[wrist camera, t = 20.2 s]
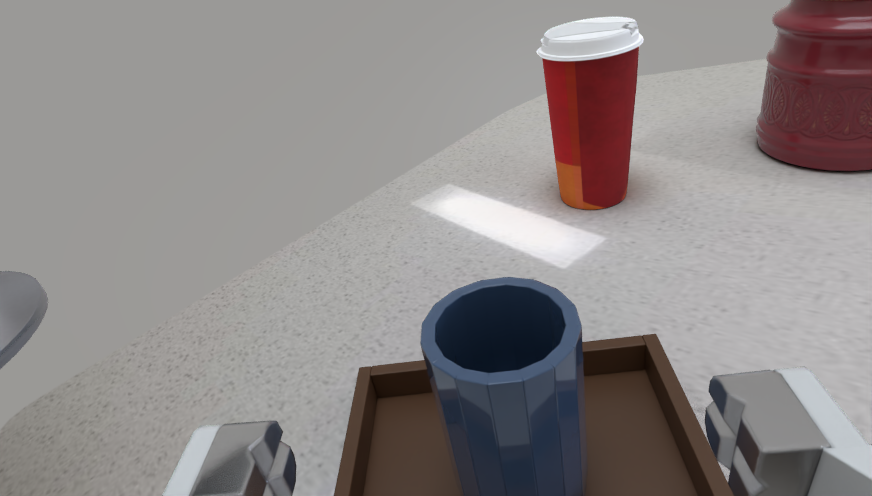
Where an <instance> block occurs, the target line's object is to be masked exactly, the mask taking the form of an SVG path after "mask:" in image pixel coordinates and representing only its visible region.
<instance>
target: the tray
mask: <svg viewBox="0 0 872 496" xmlns="http://www.w3.org/2000/svg"><path fill="white" fill-rule="evenodd" d="M582 348H583V371H584V395H585V418H586V441H587V464H588V476H587V488H586V493H585V496H734V495H733V493H732V491H731V489H730V487H729V485H728V482H727V480H726V478H725V476H724V474H723V472H722V470H721V468H720V466H719V464H718V462H717V460H716V458H715V455H714V453H713V451H712V449H711V447H710V445H709V443H708V441H707V439H706V437H705V435H704V433H703V431H702V428H701V426H700V424H699V422H698V420H697V418H696V416H695V414H694V412H693V410H692V408H691V406H690V404H689V401H688V399H687V397H686V395H685V393H684V391H683V389H682V387H681V385H680V383H679V381H678V379H677V377H676V374H675V372H674V370H673V368H672V366H671V364H670V362H669V360H668V358H667V356H666V354H665V352H664V350H663V347H662V345H661V343H660V341H659V339H658V337H657V335H656V334H650V335H643V336H633V337H624V338H615V339H606V340H597V341H589V342H582ZM334 496H461V495H460V492H459V489H458V487H457V484H456V481H455V477H454V473H453V469H452V465H451V461H450V457H449V453H448V449H447V445H446V442H445V438H444V434H443V430H442V426H441V422H440V418H439V414H438V410H437V406H436V403H435V399H434V395H433V391H432V387H431V383H430V379H429V375H428V371H427V367H426V364H425V360H422V361H413V362H404V363H395V364H386V365H378V366H372V367H371V366H370V367H361V368H359V372H358V377H357V382H356V387H355V392H354V397H353V402H352V407H351V412H350V417H349V423H348V428H347V433H346V438H345V443H344V448H343V453H342V458H341V463H340V468H339V473H338V478H337V483H336V488H335V493H334Z"/></svg>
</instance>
